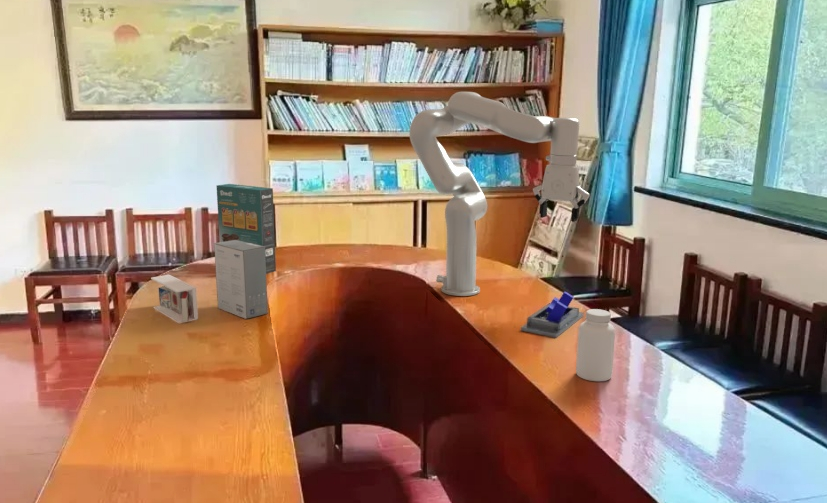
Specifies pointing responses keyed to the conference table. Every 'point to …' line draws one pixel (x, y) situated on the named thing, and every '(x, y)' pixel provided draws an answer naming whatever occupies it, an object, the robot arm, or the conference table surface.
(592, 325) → the pill bottle
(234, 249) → the hard drive box
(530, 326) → the grey rectangular tray
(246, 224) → the cake mix box
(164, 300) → the cigarette display
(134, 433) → the conference table surface
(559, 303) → the cable clip
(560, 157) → the robot arm
